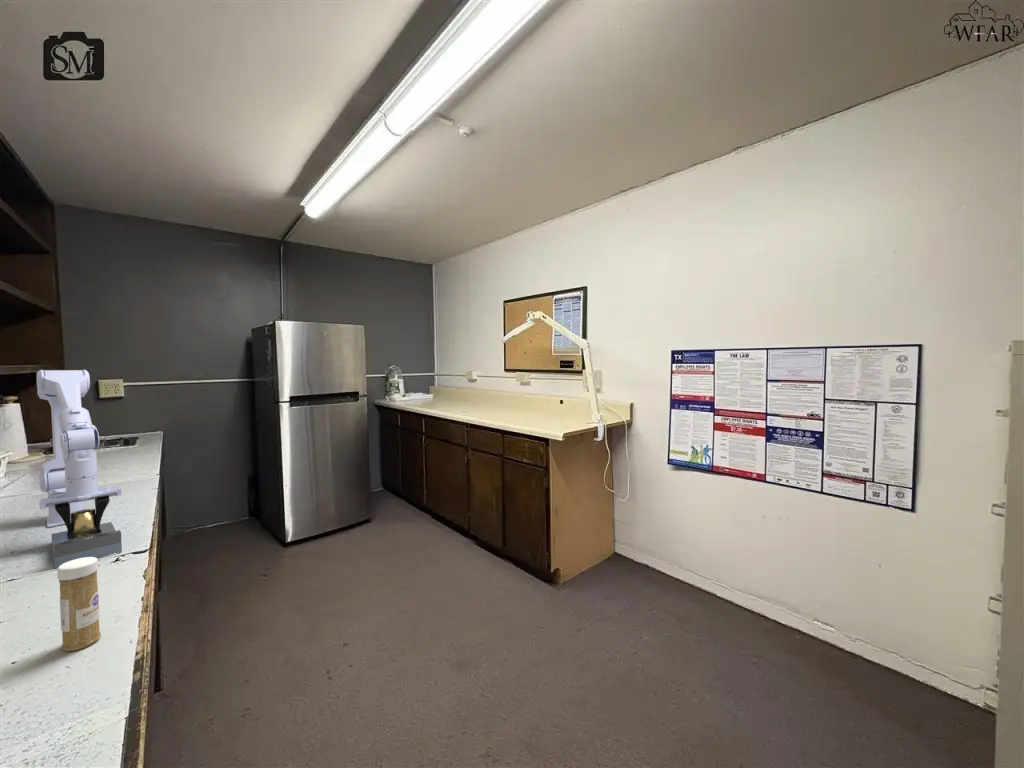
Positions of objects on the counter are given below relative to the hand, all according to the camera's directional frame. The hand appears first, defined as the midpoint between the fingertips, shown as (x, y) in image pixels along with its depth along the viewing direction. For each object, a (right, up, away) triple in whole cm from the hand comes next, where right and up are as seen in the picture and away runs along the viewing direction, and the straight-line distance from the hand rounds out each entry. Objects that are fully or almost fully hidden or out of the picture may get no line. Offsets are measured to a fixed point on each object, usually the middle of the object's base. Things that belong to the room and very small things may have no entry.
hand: (83, 529), depth 108 cm
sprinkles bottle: (+39, -5, -39) cm, 55 cm away
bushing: (0, -3, 0) cm, 2 cm away
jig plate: (+4, -4, -3) cm, 6 cm away
